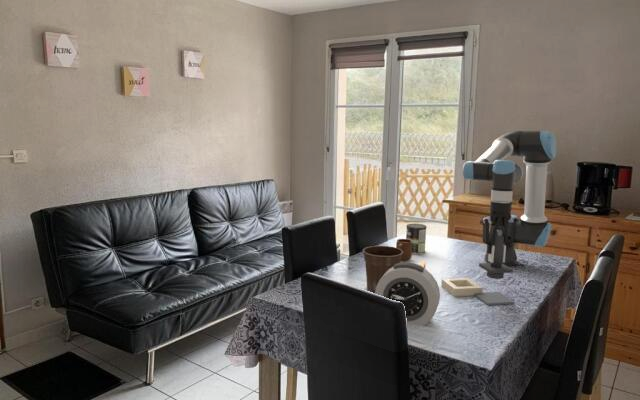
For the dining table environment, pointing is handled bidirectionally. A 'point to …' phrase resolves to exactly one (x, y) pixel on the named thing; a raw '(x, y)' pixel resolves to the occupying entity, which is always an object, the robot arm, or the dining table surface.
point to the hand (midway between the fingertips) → (496, 261)
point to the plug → (497, 259)
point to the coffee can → (417, 237)
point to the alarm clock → (411, 291)
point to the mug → (405, 248)
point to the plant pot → (379, 263)
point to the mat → (493, 298)
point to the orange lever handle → (423, 264)
